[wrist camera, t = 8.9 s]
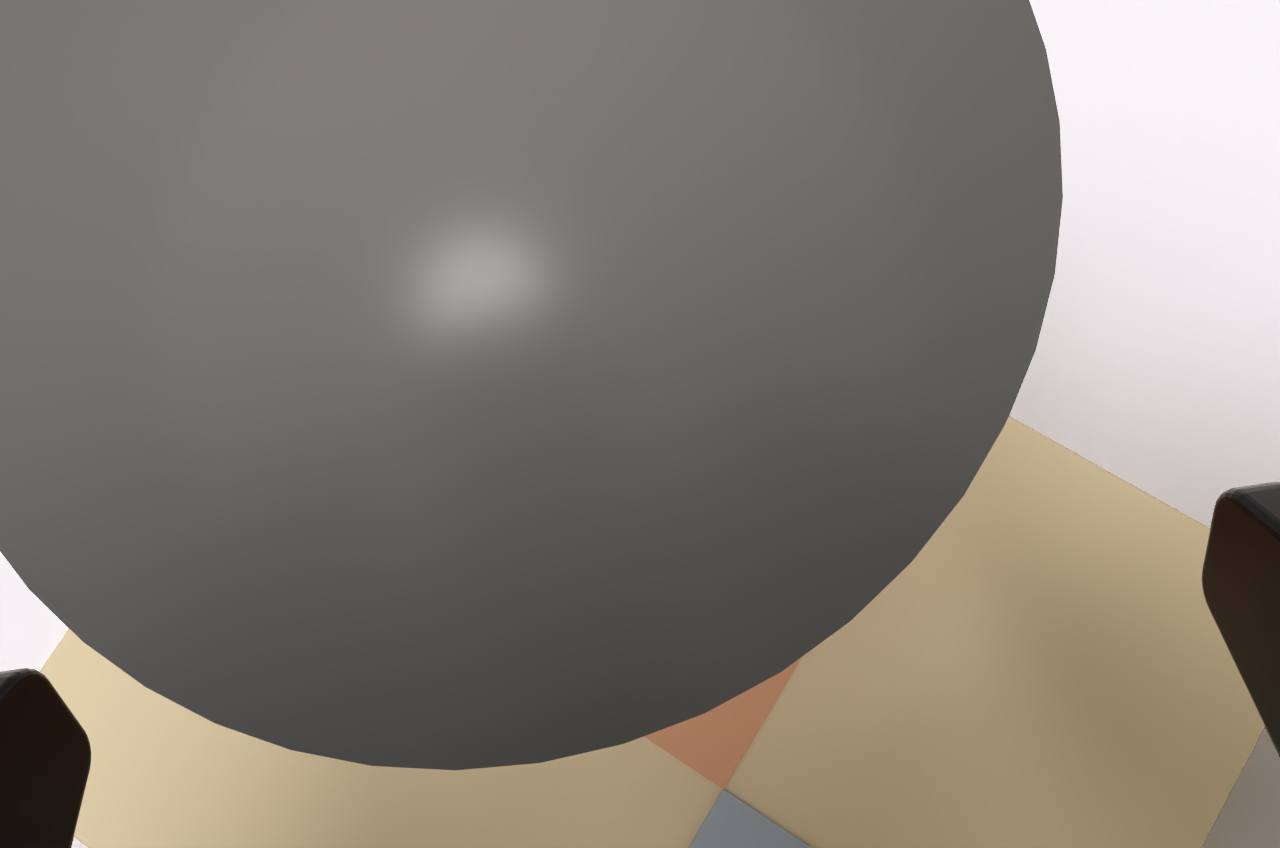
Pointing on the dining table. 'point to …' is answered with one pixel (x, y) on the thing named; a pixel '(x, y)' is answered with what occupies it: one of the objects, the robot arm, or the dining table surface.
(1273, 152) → the dining table surface
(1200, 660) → the beige flat board
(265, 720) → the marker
